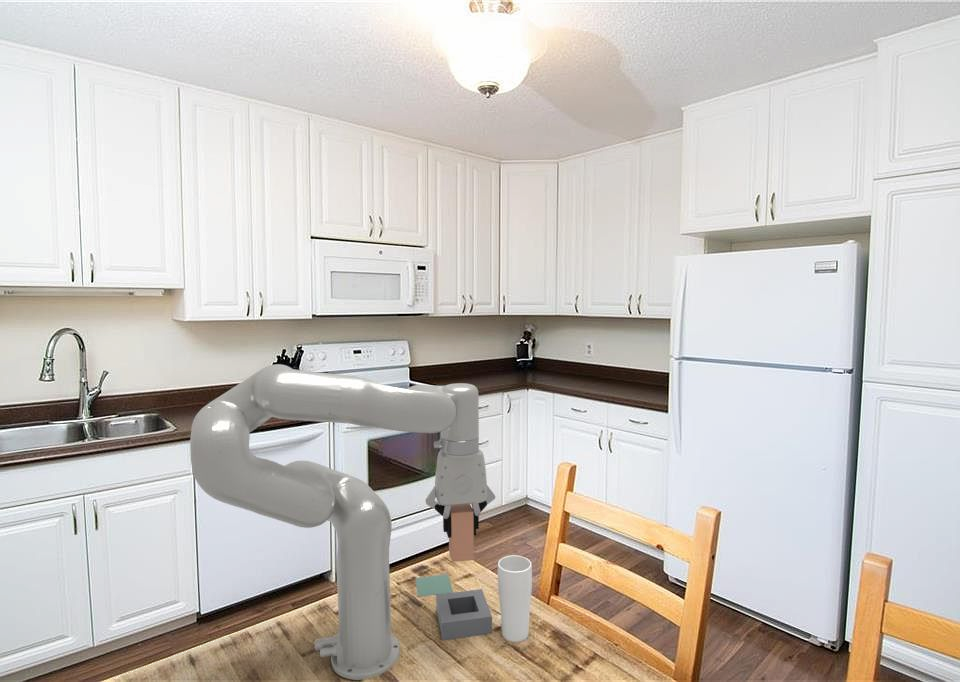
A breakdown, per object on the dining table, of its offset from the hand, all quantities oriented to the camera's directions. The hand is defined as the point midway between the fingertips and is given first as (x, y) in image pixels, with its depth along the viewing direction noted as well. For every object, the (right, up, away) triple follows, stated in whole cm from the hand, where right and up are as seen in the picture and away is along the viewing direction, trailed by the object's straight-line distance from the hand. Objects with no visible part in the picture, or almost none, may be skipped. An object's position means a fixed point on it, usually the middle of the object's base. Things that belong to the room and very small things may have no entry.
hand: (461, 532), depth 106 cm
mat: (-7, -18, +15) cm, 25 cm away
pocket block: (0, -19, +2) cm, 20 cm away
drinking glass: (+11, -20, -2) cm, 23 cm away
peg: (0, -5, 0) cm, 5 cm away
